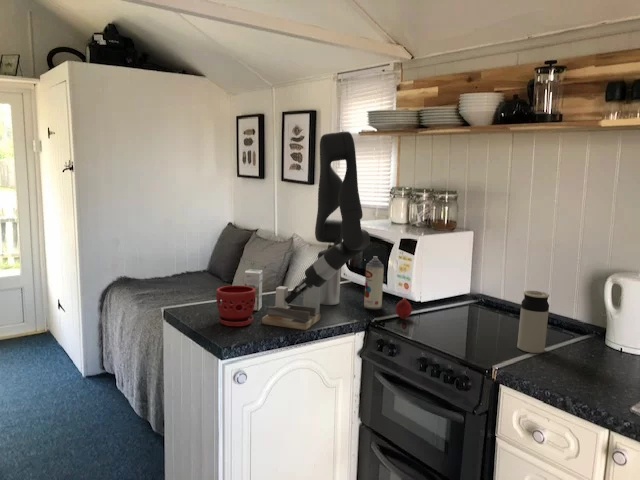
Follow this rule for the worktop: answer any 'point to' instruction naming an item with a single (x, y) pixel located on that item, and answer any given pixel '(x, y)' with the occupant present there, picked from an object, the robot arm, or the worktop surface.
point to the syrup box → (255, 285)
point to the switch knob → (281, 297)
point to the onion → (403, 308)
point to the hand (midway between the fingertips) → (287, 301)
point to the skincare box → (312, 298)
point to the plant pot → (236, 305)
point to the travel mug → (533, 322)
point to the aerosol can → (374, 284)
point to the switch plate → (292, 316)
